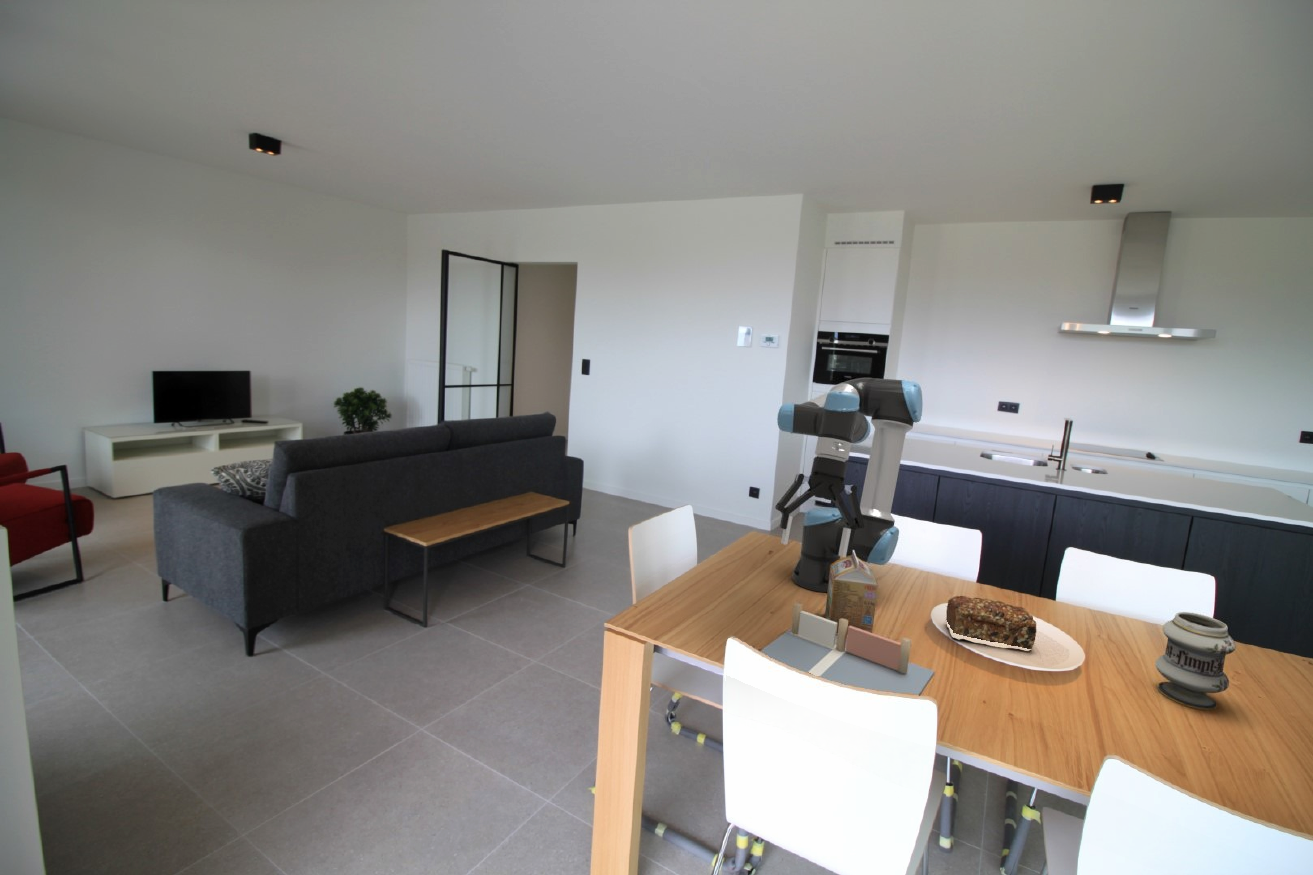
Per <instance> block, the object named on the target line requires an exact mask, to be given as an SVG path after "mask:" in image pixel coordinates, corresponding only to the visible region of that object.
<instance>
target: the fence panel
mask: <svg viewBox="0 0 1313 875" xmlns="http://www.w3.org/2000/svg"><path fill="white" fill-rule="evenodd" d="M846 640H847V641H846V650H845V651H846V652H849V653H852V654H854V655H857V656H860V657H862V658H865V659H868V660H871V661H873V662H876V663H879V664H881V665H884V666H887V667H889V668H892V669H895V670H897V671H899V672H900V673H907V670H908V662H910V654H911V646H912V639H910V638H908V637H901V640H900V641H901V642H900V641H896V640H894V639H891V638H887V637H885V636H882V635H879V634H876V633H873V632H872V633H871V632H868V631H865V630H862V629H859V628H856V627H853V626H849V627H848V633H847V636H846Z"/></svg>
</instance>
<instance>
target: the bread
mask: <svg viewBox="0 0 1313 875" xmlns="http://www.w3.org/2000/svg"><path fill="white" fill-rule="evenodd" d="M945 616H946V618H945V621H946V620H947V622H948V624H949V625H950V628H951V629H952V630H953V633H956V634H959V635H963V636H967V637H971V638H977V639H981V640H986V641H990V642H998V643H1004V644H1007V645H1011V646H1018V647H1022V648H1027V649H1032V650H1033V647H1034V646H1035V642H1036V636H1037V621H1036V620H1034V616H1033V615H1032V614H1030V613H1029V612H1028V611H1027V610H1026V608H1024V607H1023V606H1017V605H1013V604H1009V603H1006V602H1003V601H1001V600H995V599H988V598H980V597H969V596H966V595H956V596H953V597H951V598H949V599H948V600H947V605H946V615H945Z"/></svg>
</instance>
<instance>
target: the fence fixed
mask: <svg viewBox="0 0 1313 875" xmlns="http://www.w3.org/2000/svg"><path fill="white" fill-rule="evenodd" d="M791 621H792V622H791V628H792V629H791V628H790V629H791V633H793V634H798V635H800V636H803V637H805V638H808V639H811V640H814V641H816V642H819V643H822V644H824V645H827V646H830V647H832V648H833V647H834V646H835V641H836V636H837V645H836V649H837V650H838V651H845V644H846V640H847V628H848V620H847V619H843V618H841V619H839V627H838V633H836V632H837V624H838V623H837V622H834V621H831V620H828V619H826V617H825V618H824V617H822V616H819V615H817V614H813V613H810V612H807V611H804V610H803V604H801V603H798V602H796V603H794V604H793V609H792V620H791Z"/></svg>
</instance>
